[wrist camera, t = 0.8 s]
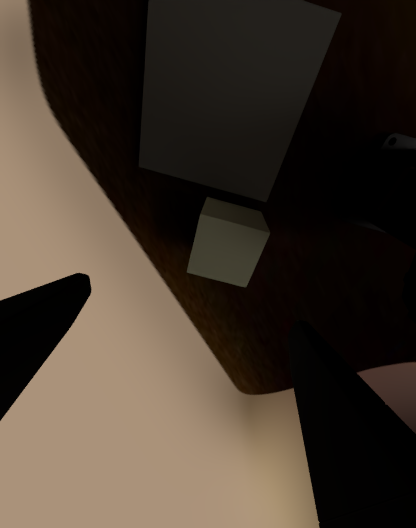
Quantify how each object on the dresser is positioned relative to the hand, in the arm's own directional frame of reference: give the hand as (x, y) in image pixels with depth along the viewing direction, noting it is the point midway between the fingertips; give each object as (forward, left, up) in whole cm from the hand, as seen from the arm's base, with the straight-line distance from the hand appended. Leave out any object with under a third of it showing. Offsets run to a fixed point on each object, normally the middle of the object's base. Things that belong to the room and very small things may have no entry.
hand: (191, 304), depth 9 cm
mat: (+1, -8, -12) cm, 14 cm away
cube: (-2, +1, -12) cm, 12 cm away
